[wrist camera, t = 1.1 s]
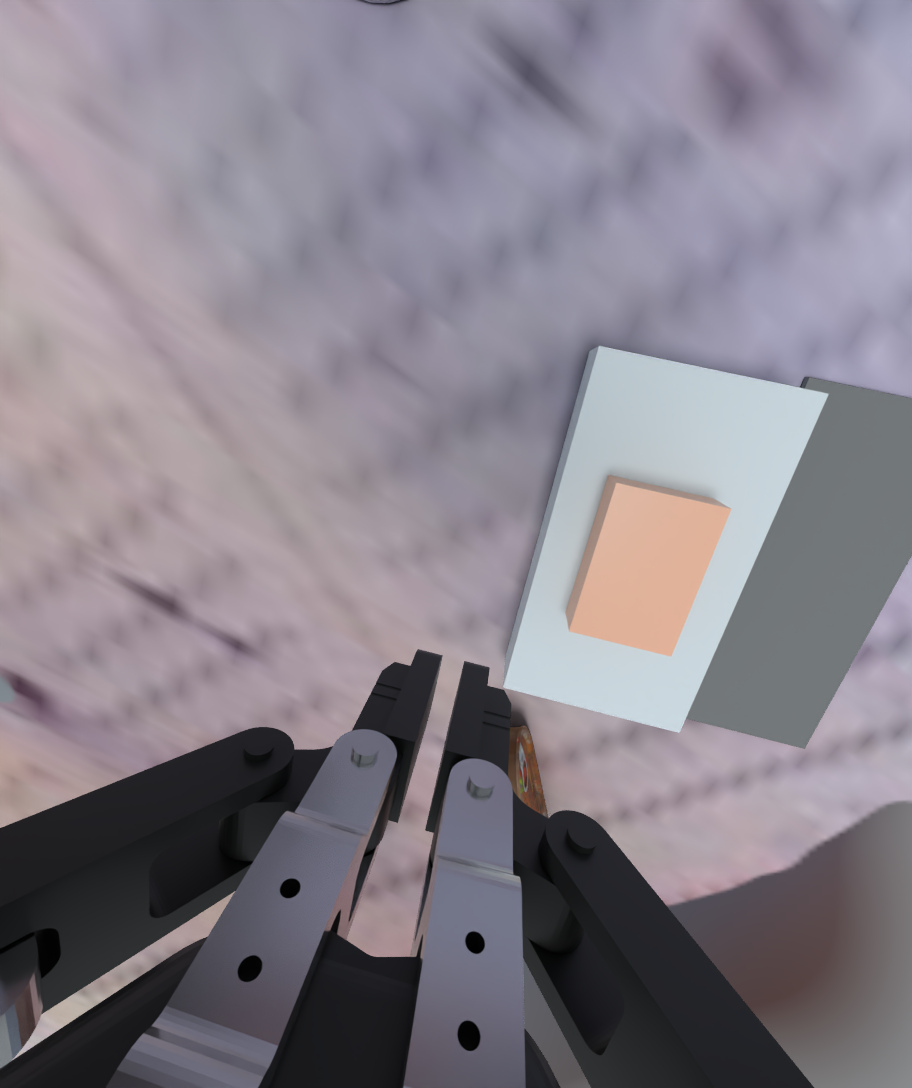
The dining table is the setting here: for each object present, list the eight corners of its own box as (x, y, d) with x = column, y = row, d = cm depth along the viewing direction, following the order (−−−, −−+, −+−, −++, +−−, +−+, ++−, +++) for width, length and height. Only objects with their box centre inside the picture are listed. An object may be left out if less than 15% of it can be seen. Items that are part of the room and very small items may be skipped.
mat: (804, 377, 28) (809, 377, 28) (981, 414, 28) (989, 414, 27) (665, 709, 36) (667, 713, 36) (800, 743, 36) (804, 748, 35)
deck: (589, 351, 30) (599, 345, 26) (788, 393, 29) (828, 393, 25) (505, 656, 37) (503, 687, 33) (663, 696, 36) (679, 733, 32)
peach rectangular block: (608, 474, 28) (616, 482, 25) (713, 498, 27) (731, 508, 25) (565, 612, 31) (569, 631, 28) (659, 635, 30) (671, 656, 28)
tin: (554, 849, 42) (561, 957, 34) (518, 850, 42) (517, 957, 35) (525, 701, 38) (525, 785, 30) (485, 705, 38) (475, 788, 30)
